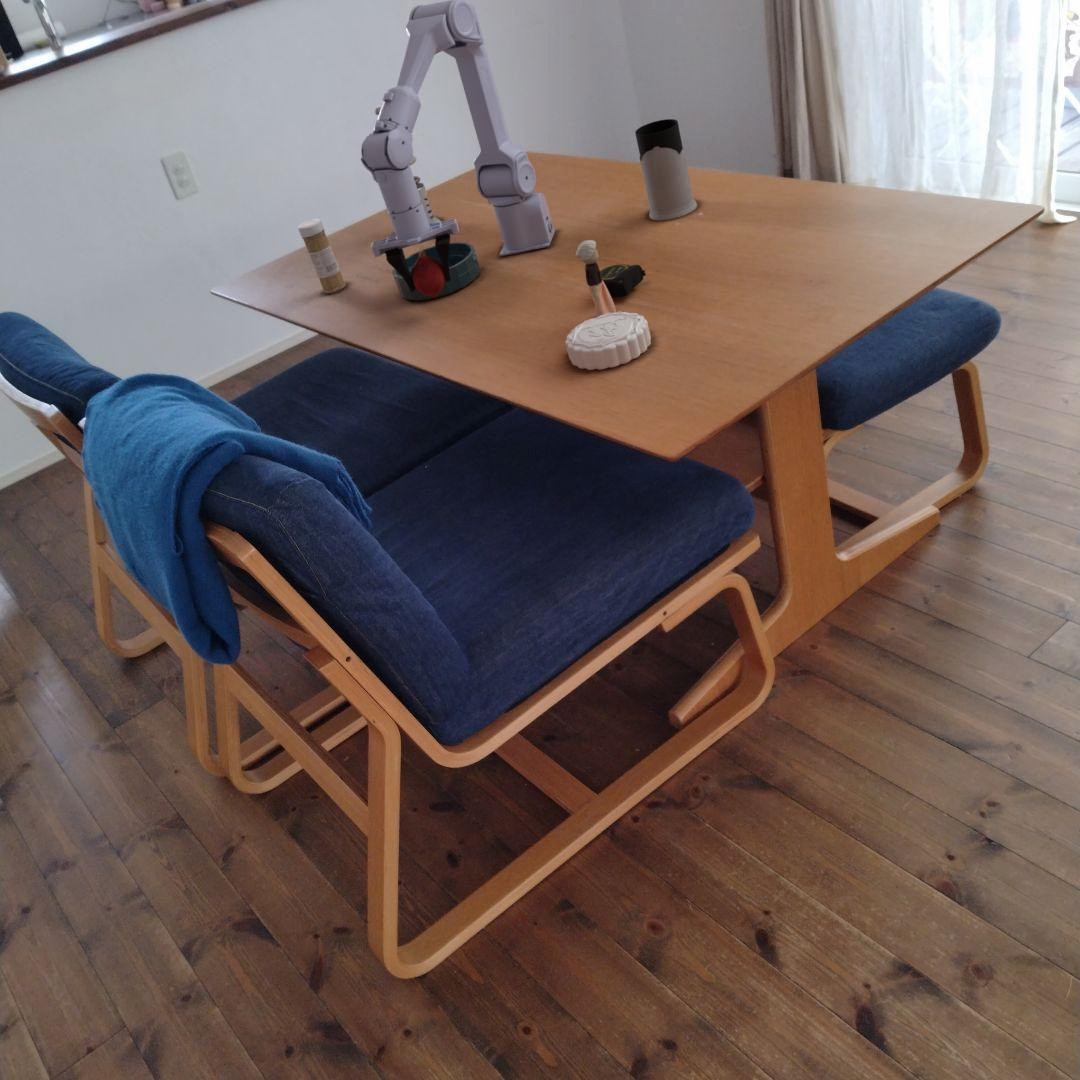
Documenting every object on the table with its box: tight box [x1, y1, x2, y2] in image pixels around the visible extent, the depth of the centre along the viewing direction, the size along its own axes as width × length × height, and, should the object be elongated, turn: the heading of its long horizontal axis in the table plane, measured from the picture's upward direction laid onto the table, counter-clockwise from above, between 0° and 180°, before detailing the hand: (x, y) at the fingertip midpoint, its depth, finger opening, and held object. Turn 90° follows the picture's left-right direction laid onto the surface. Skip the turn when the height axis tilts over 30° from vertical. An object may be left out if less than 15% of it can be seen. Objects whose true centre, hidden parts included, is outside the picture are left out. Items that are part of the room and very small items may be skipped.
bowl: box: [392, 241, 482, 301], centre depth 199 cm, size 15×15×4 cm
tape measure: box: [600, 263, 646, 300], centre depth 173 cm, size 7×7×4 cm
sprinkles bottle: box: [297, 218, 346, 294], centre depth 209 cm, size 5×5×14 cm
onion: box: [411, 250, 446, 297], centre depth 185 cm, size 6×6×8 cm
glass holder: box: [634, 118, 698, 221], centre depth 197 cm, size 9×14×15 cm, turn 167°
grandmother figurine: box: [575, 239, 617, 318], centre depth 164 cm, size 8×4×13 cm, turn 12°
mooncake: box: [565, 311, 652, 371], centre depth 157 cm, size 12×12×4 cm
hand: (431, 284), depth 186 cm, fingers closed on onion, 6 cm apart
